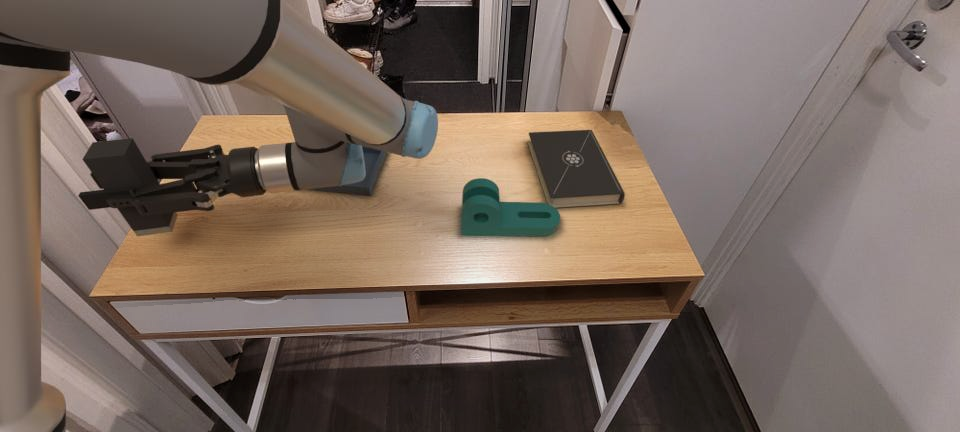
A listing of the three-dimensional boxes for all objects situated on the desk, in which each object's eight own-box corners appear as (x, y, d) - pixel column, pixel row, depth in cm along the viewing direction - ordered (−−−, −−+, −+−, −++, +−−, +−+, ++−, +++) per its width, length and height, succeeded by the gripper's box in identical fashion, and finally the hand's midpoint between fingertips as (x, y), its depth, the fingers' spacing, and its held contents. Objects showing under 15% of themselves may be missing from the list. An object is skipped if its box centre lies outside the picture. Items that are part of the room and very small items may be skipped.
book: (622, 204, 90) (626, 193, 88) (548, 209, 89) (551, 197, 86) (590, 140, 105) (592, 129, 103) (527, 143, 104) (528, 132, 102)
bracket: (461, 235, 83) (461, 203, 77) (462, 209, 88) (462, 177, 82) (560, 237, 83) (567, 205, 78) (556, 211, 88) (562, 180, 83)
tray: (278, 186, 91) (275, 179, 89) (304, 146, 100) (302, 138, 99) (370, 195, 90) (369, 187, 88) (387, 154, 99) (386, 146, 98)
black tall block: (177, 214, 75) (132, 138, 64) (172, 231, 72) (124, 154, 62) (143, 219, 74) (92, 142, 64) (137, 236, 71) (82, 159, 61)
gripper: (264, 225, 67) (84, 251, 63) (273, 157, 79) (121, 174, 75) (248, 187, 62) (50, 211, 58) (260, 119, 74) (96, 135, 69)
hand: (90, 190), depth 66 cm, fingers closed on black tall block, 4 cm apart
